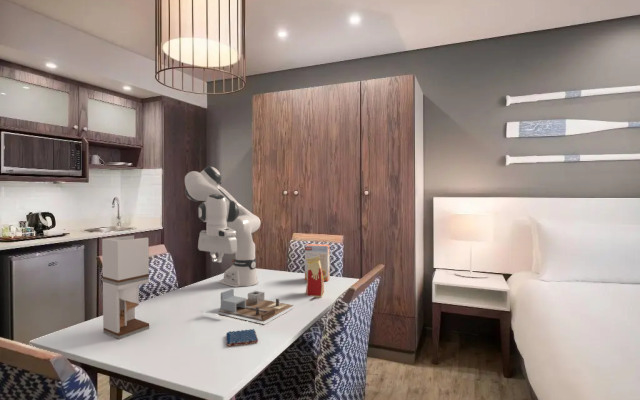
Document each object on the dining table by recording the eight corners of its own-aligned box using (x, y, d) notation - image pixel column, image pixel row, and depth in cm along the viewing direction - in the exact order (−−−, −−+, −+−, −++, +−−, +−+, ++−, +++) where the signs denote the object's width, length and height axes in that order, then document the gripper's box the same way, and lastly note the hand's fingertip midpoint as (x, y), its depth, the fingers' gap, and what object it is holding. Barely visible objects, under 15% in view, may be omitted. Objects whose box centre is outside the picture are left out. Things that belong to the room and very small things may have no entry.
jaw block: (247, 302, 160) (247, 293, 160) (255, 299, 165) (255, 290, 165) (257, 304, 158) (257, 295, 158) (264, 300, 163) (264, 292, 163)
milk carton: (324, 292, 182) (324, 254, 182) (322, 297, 173) (322, 257, 172) (306, 291, 183) (306, 253, 182) (304, 297, 174) (304, 257, 173)
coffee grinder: (118, 339, 124) (117, 241, 123) (103, 332, 129) (102, 238, 128) (149, 328, 133) (148, 237, 132) (133, 323, 139) (132, 235, 138)
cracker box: (329, 279, 209) (329, 244, 209) (327, 281, 203) (327, 245, 203) (307, 277, 212) (307, 243, 212) (304, 280, 207) (304, 244, 206)
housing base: (218, 314, 149) (218, 304, 148) (251, 300, 168) (251, 291, 168) (263, 325, 137) (263, 313, 137) (293, 308, 157) (293, 298, 157)
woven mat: (258, 345, 121) (258, 339, 121) (226, 348, 118) (226, 342, 118) (255, 333, 131) (255, 327, 131) (226, 336, 128) (226, 330, 128)
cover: (220, 309, 150) (220, 292, 150) (232, 304, 156) (231, 288, 156) (235, 312, 146) (235, 295, 146) (246, 307, 152) (246, 291, 152)
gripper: (194, 230, 157) (194, 261, 157) (229, 233, 147) (229, 265, 147) (205, 229, 162) (205, 258, 163) (239, 231, 153) (239, 263, 153)
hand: (217, 262), depth 155 cm, fingers closed
